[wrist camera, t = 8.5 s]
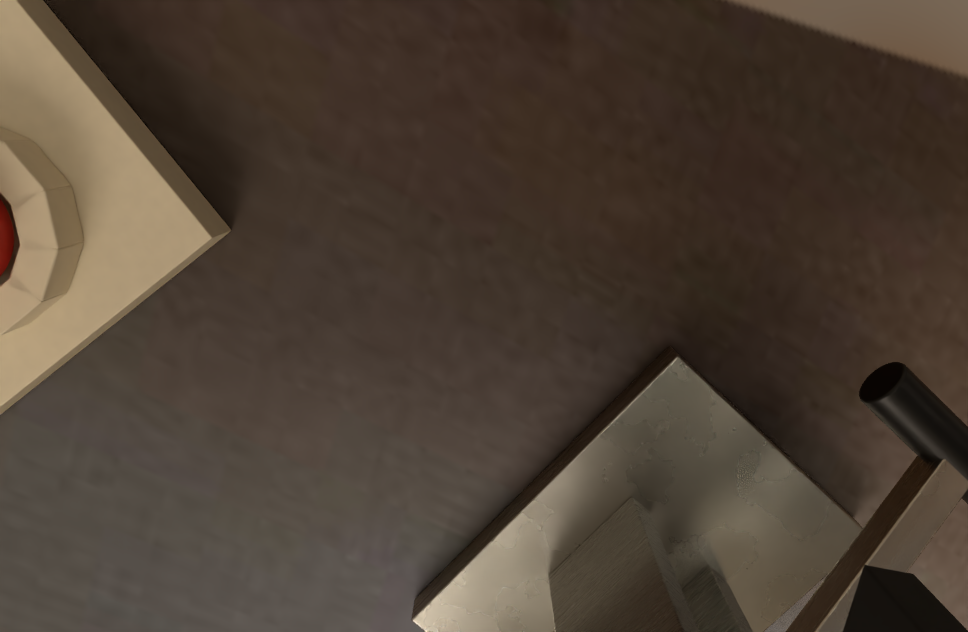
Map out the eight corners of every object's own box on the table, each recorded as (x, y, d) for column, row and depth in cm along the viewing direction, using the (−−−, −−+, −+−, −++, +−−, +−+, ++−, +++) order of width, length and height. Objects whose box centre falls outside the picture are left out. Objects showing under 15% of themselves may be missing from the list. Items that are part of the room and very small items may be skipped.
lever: (867, 359, 24) (928, 361, 22) (1007, 495, 25) (1080, 513, 23) (569, 742, 22) (600, 791, 20) (731, 877, 23) (779, 939, 21)
